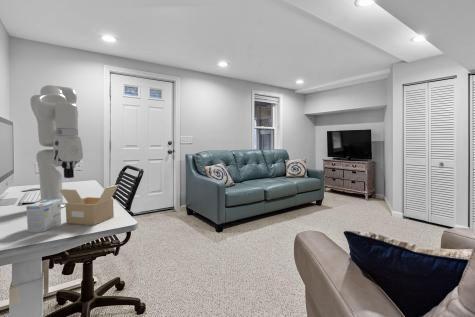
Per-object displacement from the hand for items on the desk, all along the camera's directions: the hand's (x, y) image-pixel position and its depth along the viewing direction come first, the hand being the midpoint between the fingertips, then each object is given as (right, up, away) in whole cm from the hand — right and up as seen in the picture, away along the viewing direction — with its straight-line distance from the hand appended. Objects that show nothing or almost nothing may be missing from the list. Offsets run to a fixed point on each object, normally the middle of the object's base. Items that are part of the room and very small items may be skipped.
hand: (68, 177), depth 101 cm
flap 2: (+12, -8, +7) cm, 16 cm away
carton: (+3, -20, +10) cm, 23 cm away
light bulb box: (-10, -21, 0) cm, 23 cm away
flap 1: (+1, -8, +1) cm, 8 cm away
